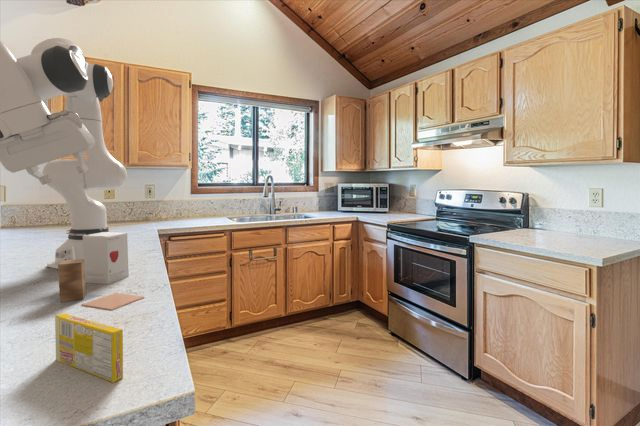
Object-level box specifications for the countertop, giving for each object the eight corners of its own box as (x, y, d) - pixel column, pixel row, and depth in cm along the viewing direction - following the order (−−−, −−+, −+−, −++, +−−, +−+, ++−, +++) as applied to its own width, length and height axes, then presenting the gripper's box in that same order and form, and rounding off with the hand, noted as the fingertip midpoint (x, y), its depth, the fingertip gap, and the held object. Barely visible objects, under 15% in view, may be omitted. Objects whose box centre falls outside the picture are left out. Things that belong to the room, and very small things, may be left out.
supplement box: (108, 285, 108) (106, 236, 107) (83, 283, 110) (81, 235, 109) (130, 277, 117) (128, 232, 116) (106, 275, 119) (104, 231, 118)
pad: (82, 306, 90) (81, 304, 90) (116, 294, 99) (116, 292, 99) (112, 311, 87) (111, 309, 87) (144, 298, 96) (144, 296, 96)
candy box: (125, 377, 58) (123, 328, 57) (113, 384, 56) (110, 333, 56) (67, 355, 65) (65, 311, 65) (54, 360, 63) (51, 315, 63)
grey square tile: (44, 302, 92) (43, 301, 92) (77, 292, 101) (77, 291, 101) (69, 307, 89) (68, 306, 89) (101, 296, 98) (101, 295, 98)
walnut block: (60, 302, 92) (57, 264, 91) (64, 296, 96) (62, 260, 95) (83, 299, 94) (81, 262, 93) (86, 294, 98) (84, 258, 97)
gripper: (80, 104, 81) (112, 160, 87) (-3, 131, 82) (35, 184, 88) (64, 109, 75) (100, 169, 81) (-24, 137, 76) (17, 194, 82)
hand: (65, 177), depth 84 cm, fingers open, 8 cm apart
